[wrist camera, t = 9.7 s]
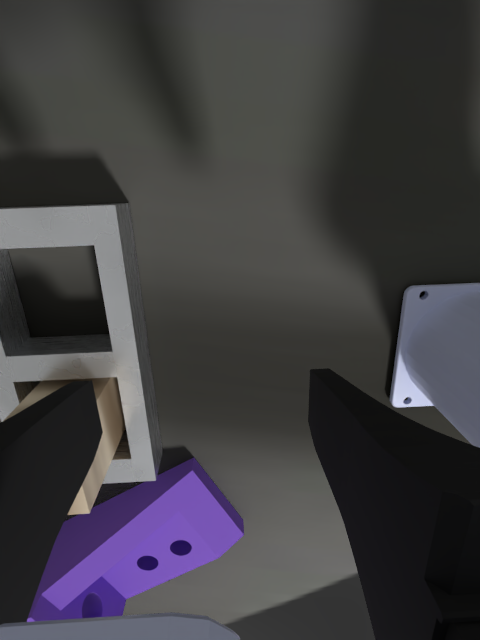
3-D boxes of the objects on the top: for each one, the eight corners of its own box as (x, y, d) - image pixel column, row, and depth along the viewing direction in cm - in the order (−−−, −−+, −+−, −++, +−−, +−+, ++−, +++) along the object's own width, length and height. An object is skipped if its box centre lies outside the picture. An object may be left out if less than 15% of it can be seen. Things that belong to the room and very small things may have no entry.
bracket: (113, 576, 28) (80, 689, 22) (56, 522, 26) (1, 630, 20) (242, 516, 27) (248, 619, 20) (194, 453, 25) (183, 547, 18)
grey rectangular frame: (129, 202, 18) (115, 205, 16) (162, 452, 24) (156, 480, 22) (-29, 208, 18) (-66, 211, 16) (42, 458, 24) (22, 488, 21)
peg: (117, 365, 22) (70, 443, 15) (128, 420, 23) (89, 513, 16) (51, 370, 21) (-25, 449, 15) (66, 424, 23) (2, 519, 16)
